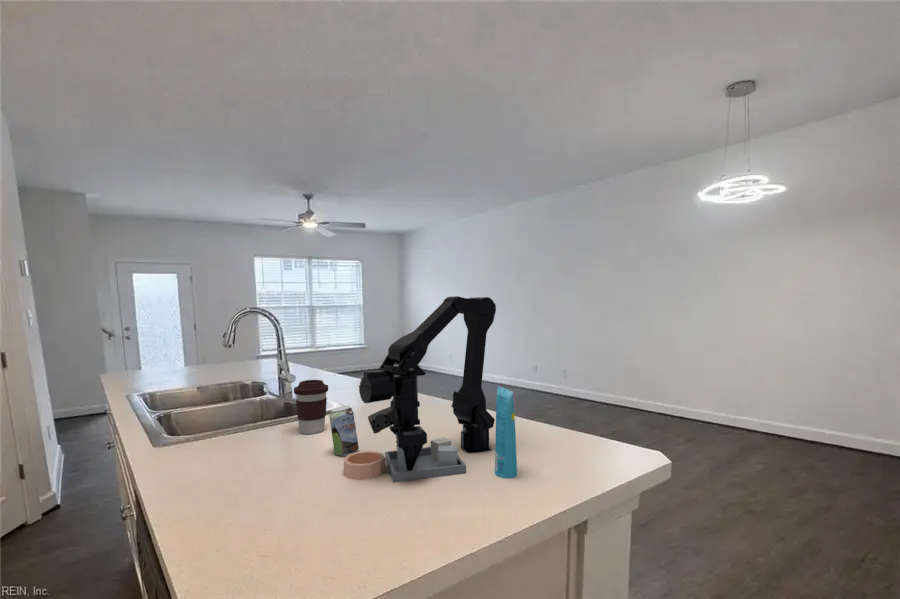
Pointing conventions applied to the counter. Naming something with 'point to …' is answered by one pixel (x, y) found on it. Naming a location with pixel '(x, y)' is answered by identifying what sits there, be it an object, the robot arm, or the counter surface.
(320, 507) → the counter surface
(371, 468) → the bowl
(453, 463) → the stone
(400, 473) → the tray
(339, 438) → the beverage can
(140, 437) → the counter surface
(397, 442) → the robot arm
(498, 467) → the tube
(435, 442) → the stone
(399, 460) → the stone
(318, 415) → the coffee cup
